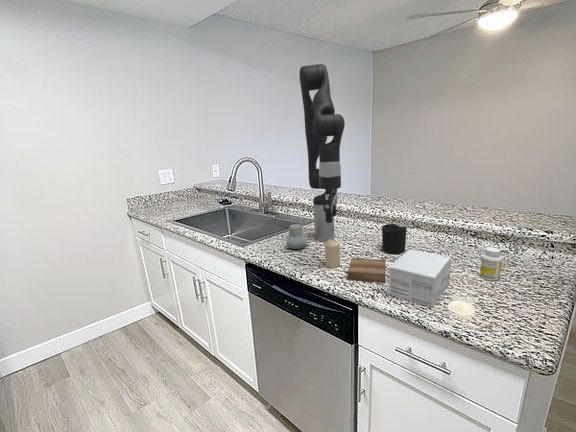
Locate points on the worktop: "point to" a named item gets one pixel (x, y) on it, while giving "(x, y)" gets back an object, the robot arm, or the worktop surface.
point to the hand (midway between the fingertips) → (331, 219)
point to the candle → (332, 253)
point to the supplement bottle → (491, 264)
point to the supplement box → (420, 277)
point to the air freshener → (296, 237)
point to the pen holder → (393, 238)
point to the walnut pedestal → (367, 270)
